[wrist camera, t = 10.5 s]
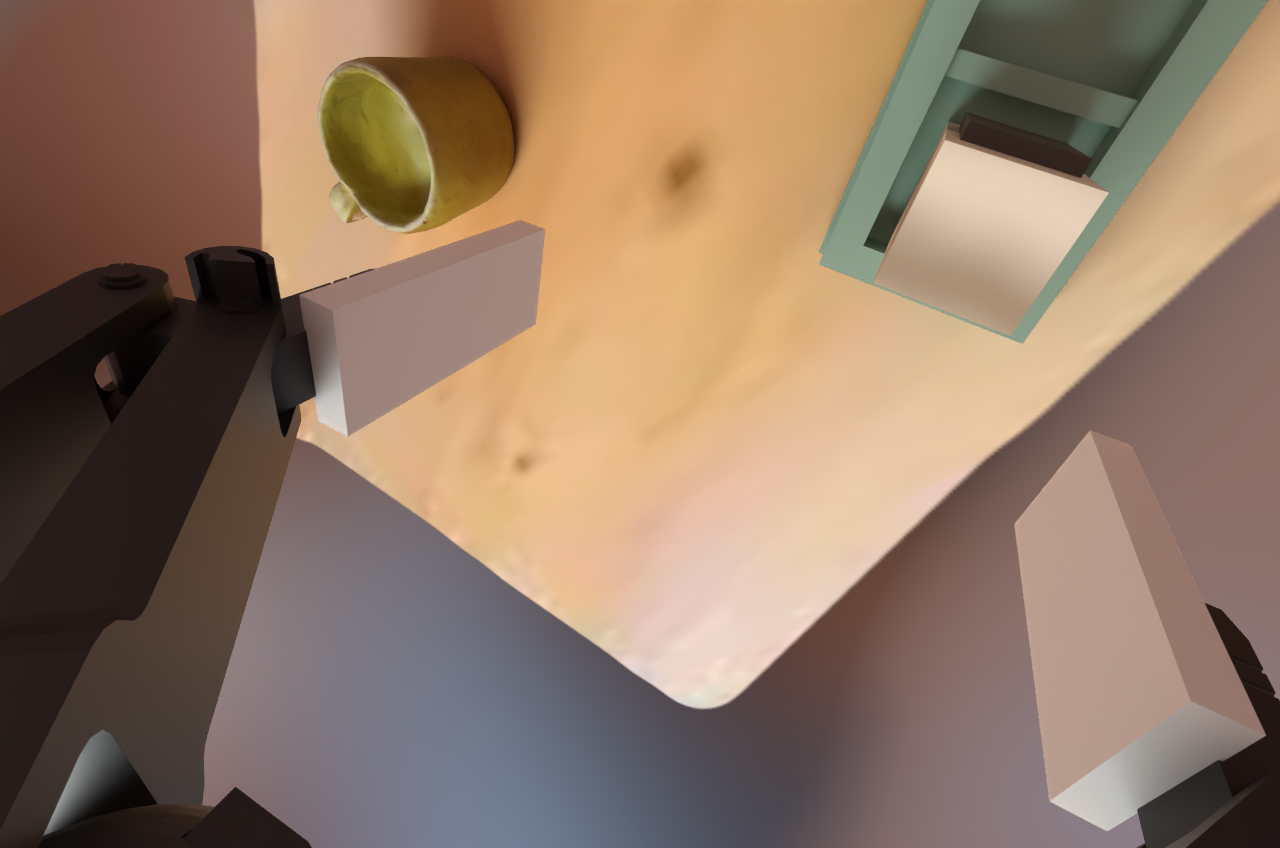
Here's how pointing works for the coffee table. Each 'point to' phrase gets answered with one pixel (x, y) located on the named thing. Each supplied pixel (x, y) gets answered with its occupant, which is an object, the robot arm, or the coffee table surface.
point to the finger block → (989, 222)
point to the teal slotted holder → (1035, 104)
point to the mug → (413, 140)
